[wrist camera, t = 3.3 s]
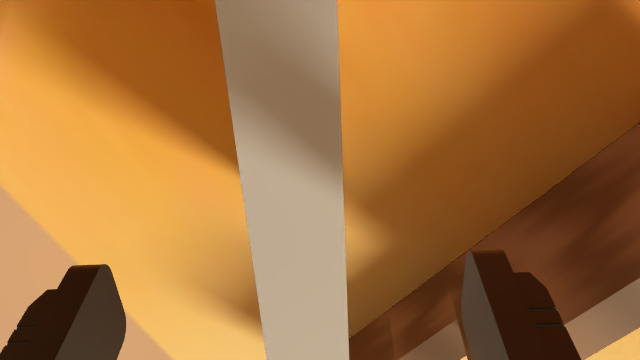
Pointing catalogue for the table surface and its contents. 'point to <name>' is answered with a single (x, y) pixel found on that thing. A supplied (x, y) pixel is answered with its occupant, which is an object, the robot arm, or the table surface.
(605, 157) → the walnut board
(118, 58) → the table surface
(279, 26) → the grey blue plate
